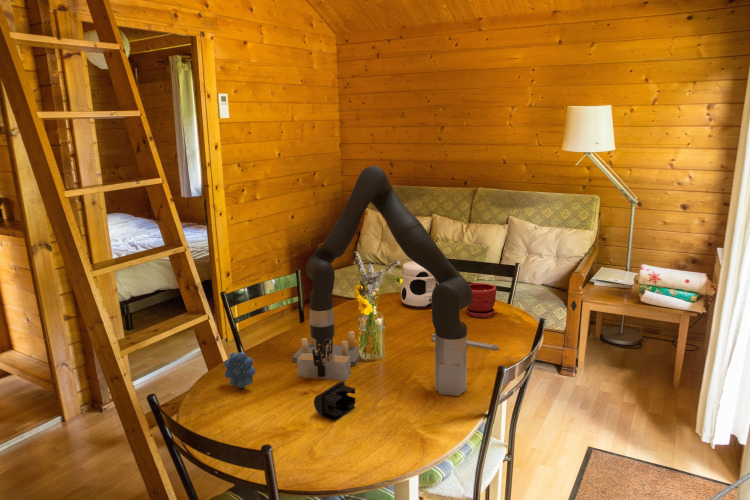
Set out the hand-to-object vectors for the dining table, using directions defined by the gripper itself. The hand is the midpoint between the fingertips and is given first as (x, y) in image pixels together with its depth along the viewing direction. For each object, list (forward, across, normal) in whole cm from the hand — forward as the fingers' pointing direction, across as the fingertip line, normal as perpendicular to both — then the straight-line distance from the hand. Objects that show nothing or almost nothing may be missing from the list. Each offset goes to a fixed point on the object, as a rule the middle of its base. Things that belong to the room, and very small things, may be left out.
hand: (324, 372), depth 175 cm
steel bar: (+1, 0, 0) cm, 1 cm away
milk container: (+2, +77, -20) cm, 79 cm away
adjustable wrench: (+2, +33, -41) cm, 53 cm away
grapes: (+1, -12, +22) cm, 25 cm away
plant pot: (+2, +68, -46) cm, 82 cm away
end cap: (+1, -21, -10) cm, 23 cm away
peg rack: (+1, +15, +3) cm, 15 cm away
